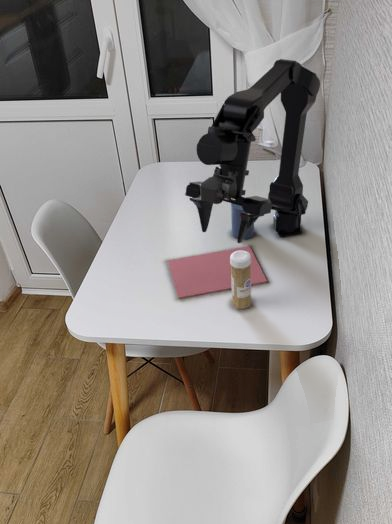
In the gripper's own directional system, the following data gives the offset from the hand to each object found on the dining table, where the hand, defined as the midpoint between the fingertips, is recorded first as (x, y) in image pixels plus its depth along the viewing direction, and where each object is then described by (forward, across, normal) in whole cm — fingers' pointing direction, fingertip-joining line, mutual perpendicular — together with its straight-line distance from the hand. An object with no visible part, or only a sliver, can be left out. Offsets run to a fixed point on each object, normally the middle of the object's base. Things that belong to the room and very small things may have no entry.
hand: (221, 237), depth 118 cm
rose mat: (+12, -6, +11) cm, 18 cm away
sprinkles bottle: (+15, +6, +4) cm, 17 cm away
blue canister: (+5, -10, +28) cm, 30 cm away
